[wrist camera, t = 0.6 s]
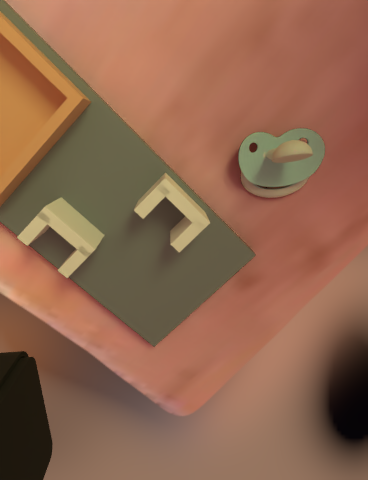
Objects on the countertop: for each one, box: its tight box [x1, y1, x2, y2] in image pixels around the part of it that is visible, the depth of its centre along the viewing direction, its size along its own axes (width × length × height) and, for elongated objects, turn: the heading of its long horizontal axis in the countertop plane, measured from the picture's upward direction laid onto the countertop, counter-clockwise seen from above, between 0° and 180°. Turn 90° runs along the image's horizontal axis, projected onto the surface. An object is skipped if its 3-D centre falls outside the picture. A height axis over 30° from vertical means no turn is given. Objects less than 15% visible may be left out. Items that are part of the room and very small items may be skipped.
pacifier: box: [238, 128, 325, 198], centre depth 28 cm, size 7×6×6 cm
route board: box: [0, 0, 256, 347], centre depth 28 cm, size 14×33×5 cm, turn 45°
